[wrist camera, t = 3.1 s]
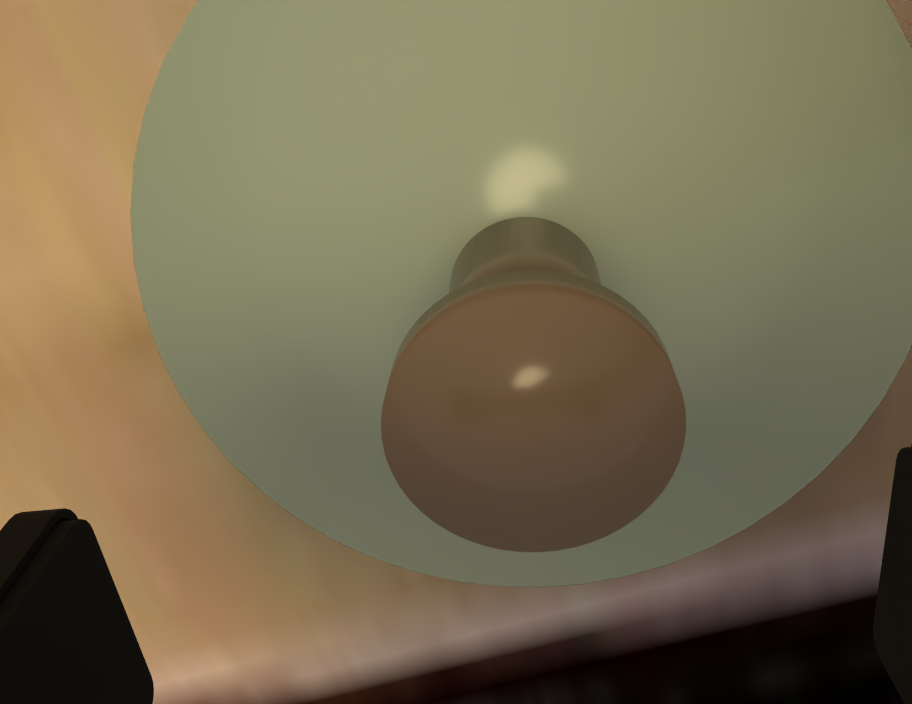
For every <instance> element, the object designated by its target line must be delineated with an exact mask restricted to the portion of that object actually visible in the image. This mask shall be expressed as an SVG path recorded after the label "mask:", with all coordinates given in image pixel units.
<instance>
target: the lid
mask: <svg viewBox="0 0 912 704" xmlns="http://www.w3.org/2000/svg"><path fill="white" fill-rule="evenodd" d="M131 228H132V242H133V256H134V265H135V270H136V275H137V279H138V284H139V289H140V294H141V298H142V303H143V308H144V312H145V314H146V317H147V320H148V323H149V326H150V329H151V331H152V334H153V337H154V340H155V343H156V346H157V348H158V351H159V354H160V356H161V358H162V360H163V362H164V364H165V366H166V368H167V370H168V372H169V374H170V376H171V378H172V380H173V382H174V384H175V386H176V388H177V390H178V392H179V394H180V395H181V397H182V398H183V400H184V401H185V403H186V404H187V406H188V407H189V409H190V410H191V412H192V413H193V415H194V416H195V418H196V419H197V421H198V422H199V424H200V425H201V427H202V428H203V430H204V431H205V432H206V434H207V435H208V436H209V437H210V438H211V440H212V441H213V442H214V443H215V444H216V445H217V447H218V448H219V449H220V450H221V451H222V452H223V454H224V455H225V456H226V457H227V458H228V459H229V461H230V462H231V463H232V464H233V465H234V466H235V467H236V468H237V469H238V470H239V471H240V472H241V473H242V474H244V475H245V476H246V477H247V478H248V479H249V480H250V481H251V482H252V483H253V484H254V485H255V486H256V487H258V488H259V489H260V490H261V491H262V492H263V493H264V494H265V495H267V496H268V497H269V498H271V499H272V500H273V501H275V502H276V503H277V504H279V505H280V506H281V507H283V508H284V509H285V510H287V511H288V512H289V513H291V514H292V515H293V516H295V517H296V518H297V519H299V520H301V521H302V522H304V523H306V524H307V525H309V526H311V527H313V528H314V529H316V530H318V531H319V532H321V533H323V534H324V535H326V536H328V537H330V538H331V539H333V540H335V541H337V542H339V543H341V544H343V545H346V546H348V547H350V548H352V549H354V550H357V551H359V552H361V553H363V554H365V555H368V556H370V557H372V558H374V559H377V560H380V561H383V562H386V563H389V564H392V565H395V566H398V567H401V568H404V569H407V570H410V571H413V572H417V573H422V574H426V575H430V576H435V577H439V578H444V579H448V580H452V581H458V582H467V583H475V584H483V585H491V586H508V587H550V586H563V585H576V584H585V583H591V582H597V581H602V580H608V579H614V578H619V577H625V576H629V575H632V574H636V573H639V572H643V571H646V570H650V569H653V568H657V567H661V566H664V565H667V564H670V563H672V562H675V561H678V560H680V559H683V558H685V557H688V556H690V555H693V554H695V553H698V552H700V551H703V550H705V549H708V548H710V547H712V546H714V545H716V544H718V543H719V542H721V541H723V540H725V539H727V538H729V537H731V536H733V535H735V534H737V533H739V532H741V531H743V530H744V529H746V528H748V527H750V526H751V525H753V524H754V523H756V522H757V521H759V520H760V519H762V518H763V517H765V516H766V515H768V514H769V513H771V512H772V511H774V510H775V509H777V508H778V507H780V506H781V505H783V504H784V503H786V502H787V501H788V500H789V499H790V498H792V497H793V496H794V495H795V494H796V493H798V492H799V491H800V490H801V489H802V488H804V487H805V486H806V485H807V484H808V483H810V482H811V481H812V480H813V479H814V478H816V477H817V476H818V475H819V474H820V473H821V472H822V471H823V470H824V469H825V468H826V467H827V466H828V465H829V464H830V463H831V462H832V461H833V460H834V459H835V458H836V457H837V456H838V455H839V454H840V452H841V451H842V450H843V449H844V448H845V447H846V446H847V445H848V444H849V443H850V442H851V441H852V440H853V439H854V437H855V436H856V435H857V433H858V432H859V431H860V429H861V428H862V427H863V425H864V424H865V423H866V421H867V420H868V419H869V417H870V416H871V415H872V413H873V412H874V411H875V409H876V408H877V407H878V405H879V404H880V403H881V401H882V400H883V398H884V396H885V394H886V393H887V391H888V389H889V387H890V386H891V384H892V382H893V380H894V379H895V377H896V375H897V373H898V372H899V370H900V368H901V366H902V365H903V363H904V361H905V359H906V357H907V355H908V352H909V350H910V347H911V345H912V48H911V46H910V44H909V42H908V40H907V38H906V36H905V34H904V33H903V31H902V29H901V27H900V25H899V23H898V21H897V19H896V18H895V16H894V14H893V12H892V10H891V8H890V6H889V4H888V3H887V1H886V0H199V1H198V2H197V3H196V5H195V6H194V7H193V9H192V10H191V11H190V13H189V15H188V16H187V18H186V20H185V22H184V24H183V26H182V28H181V29H180V31H179V33H178V35H177V37H176V39H175V41H174V42H173V44H172V46H171V48H170V50H169V52H168V53H167V55H166V57H165V59H164V61H163V63H162V66H161V69H160V71H159V74H158V77H157V80H156V82H155V85H154V88H153V91H152V93H151V96H150V99H149V102H148V104H147V107H146V110H145V113H144V117H143V122H142V127H141V132H140V136H139V141H138V146H137V151H136V156H135V160H134V168H133V183H132V199H131Z"/></svg>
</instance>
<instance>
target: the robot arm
mask: <svg viewBox="0 0 912 704" xmlns="http://www.w3.org/2000/svg"><path fill="white" fill-rule="evenodd" d="M873 634H874V641H875V646H876V649H877V652H878V655H879V657H880V659H881V662H882V663H883V665H884V667H885V669H886V671H887V673H888V674H889V676H890V678H891V680H892V682H893V683H894V685H895V687H896V689H897V691H898V692H899V694H900V696H901V698H902V700H903V701H904V703H905V704H912V446H911V447H907V448H903V449H901V450H900V451H899V453H898V455H897V459H896V465H895V473H894V480H893V487H892V494H891V501H890V509H889V516H888V523H887V530H886V537H885V545H884V552H883V559H882V566H881V573H880V581H879V588H878V595H877V602H876V609H875V617H874V624H873ZM153 694H154V688H153V681H152V677H151V674H150V672H149V669H148V667H147V664H146V662H145V659H144V657H143V654H142V652H141V649H140V647H139V644H138V642H137V639H136V637H135V634H134V631H133V629H132V626H131V624H130V621H129V619H128V616H127V614H126V611H125V609H124V606H123V604H122V601H121V599H120V596H119V594H118V591H117V589H116V586H115V584H114V581H113V579H112V576H111V574H110V571H109V569H108V566H107V564H106V561H105V559H104V556H103V554H102V551H101V549H100V546H99V544H98V541H97V539H96V536H95V534H94V531H93V529H92V527H91V525H90V524H89V523H88V522H87V521H86V520H82V519H79V520H78V518H77V516H76V514H74V513H73V512H72V511H71V510H69V509H53V510H42V511H30V512H21V513H18V514H15V515H14V516H13V517H12V518H11V519H10V520H9V521H8V522H7V523H6V524H5V526H4V527H3V528H2V529H1V531H0V704H152V703H153Z"/></svg>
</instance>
